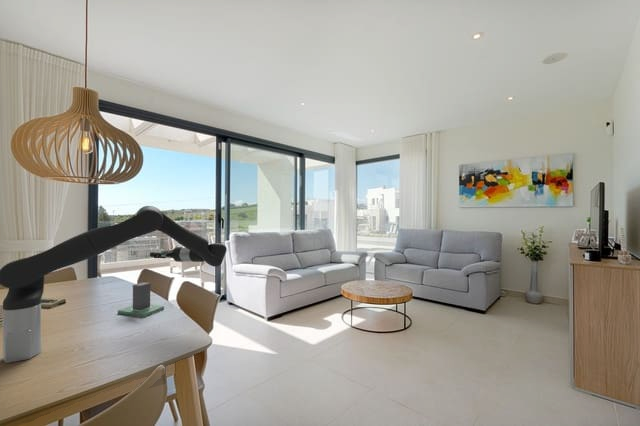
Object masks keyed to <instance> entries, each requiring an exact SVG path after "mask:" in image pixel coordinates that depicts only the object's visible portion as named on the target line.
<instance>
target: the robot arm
mask: <svg viewBox="0 0 640 426" xmlns="http://www.w3.org/2000/svg"><path fill="white" fill-rule="evenodd" d="M156 231H158V232H161V233H163V234H165V235H166V236H168V237H169V238H171V239H173V240H174V241H176V242H177V243H178V244H179V245H177V246H175V247H174V248H173V249H164V250H161V251H150V253H149V257H150V258H154V259H173V260H174V261H175V262H179V263H193V262H195V263H203V262H205V263H206V264H207V265H209V266H211V267H214V268H217V267H220V266H221V265H222V264H223V262H224V258H225V255H226V254H227V251H228V250H227V246H226V245H225V244H224V243H222V242H220V243H219V242H214V243H211V244H210V243H209V241H208V240H207V239H206V238H204V237H202V236H201V235H199V234H197V233H196V232H193V231H191V230H189V229H187V228H186V227H184V226H182V225H181V224H179V223H177V222H176V221H174V220H173V219H171V218H170V217H168V216H167V215H166V214H165V213H163V211H161V210H160V209H159V208H158V207H157V206H154V205H145V206H142V207H141V208H139V210H137V213H136V214H135V215H134V216H131V217H130V218H128V219H125V220H123V221H121V222H118V223H115V224H111V225H106V226H100V227H97V228H93V229H90V230H88V231H85V232H82V233H81V234H77V235H75V236H73V237H71V238H69V239H67V240H64V241H63V242H62V241H61V242H60V243H58V244H56V245H55V246H52V247H51V248H49V249H47V250H45V251H42V252H40V253H37V254H34V255H30V256H28V257H23V258H20V259H19V258H18V259H16V260H12V261H10V262H8V263H6V264H5V265H3V266H2V267H1V268H0V286H2V287H4V288H7V289H8V291H7V294H6V296H5V297H4V299H3V301H2V361H3V362H4V363H5V364H9V363H15V362H21V361H25V360H29V359H30V360H31V359H32V358H33V357H35V356H38V355H39V354H40V353H41V352H42V351H41V350H42V308H41V298H43V295H44V290H45V289H44V288H45V286H44V285H45V276H47V275H48V274H52V273H53V272H55V271H58V270H60V269H63V268H66V267H69V266H72V265H75V264H78V263H81V262H83V261H86V260H89V259H91V258H95V257H96V256H98V255H101V254H102V253H104V252H107V251H109V250H111V249H113V248H116V247H118V246H120V245H122V244H124V243H125V242H127V241H130V240H133V239H135V238H139V237H141V236H144V235H147V234H151V233H153V232H156Z"/></svg>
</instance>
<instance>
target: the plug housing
mask: <svg viewBox="0 0 640 426" xmlns="http://www.w3.org/2000/svg"><path fill="white" fill-rule="evenodd" d="M150 304H151V283H150V282H146V281H145V282H144V281H143V282H140V283H139V282H138V283H134V284H132V305H133V310H143V309H146V308H148V307H150Z"/></svg>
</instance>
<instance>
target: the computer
mask: <svg viewBox="0 0 640 426" xmlns="http://www.w3.org/2000/svg"><path fill="white" fill-rule="evenodd" d="M64 304H67V301H66V298H53V297H41V309H43V308H44V309H53V308H56V307H59V306H62V305H64Z"/></svg>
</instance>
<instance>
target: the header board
mask: <svg viewBox="0 0 640 426" xmlns="http://www.w3.org/2000/svg"><path fill="white" fill-rule="evenodd" d="M162 309H163V310H164V309H165V306H164V305H158V304H152V303H150V307H148V308H146V309H143V310H133V304H132V305H130V306H126V307H123V308H121V309H119V310H117V314H118V315H119V314H120V315H124V316H130V315H131V316H130V317H137V316H139V317H138V318H143V317H144V318H146V317H149V316H151V315H153V314H152V313H154V314H155V312H156V313H158V312H160V311H159V310H161V311H163V310H162ZM157 311H158V312H157ZM150 314H151V315H150ZM148 315H149V316H148ZM145 316H146V317H145Z"/></svg>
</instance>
